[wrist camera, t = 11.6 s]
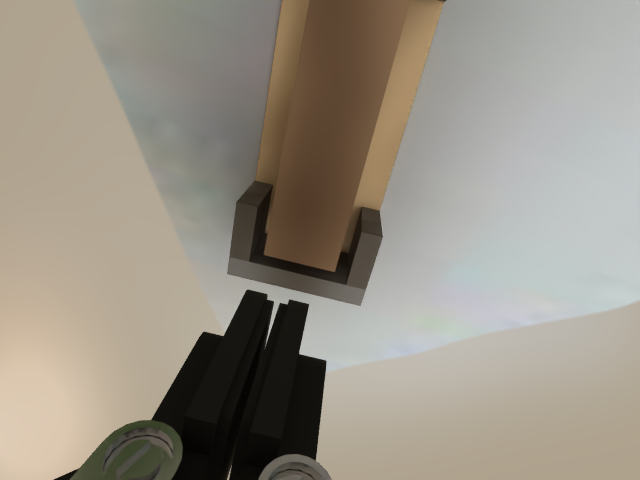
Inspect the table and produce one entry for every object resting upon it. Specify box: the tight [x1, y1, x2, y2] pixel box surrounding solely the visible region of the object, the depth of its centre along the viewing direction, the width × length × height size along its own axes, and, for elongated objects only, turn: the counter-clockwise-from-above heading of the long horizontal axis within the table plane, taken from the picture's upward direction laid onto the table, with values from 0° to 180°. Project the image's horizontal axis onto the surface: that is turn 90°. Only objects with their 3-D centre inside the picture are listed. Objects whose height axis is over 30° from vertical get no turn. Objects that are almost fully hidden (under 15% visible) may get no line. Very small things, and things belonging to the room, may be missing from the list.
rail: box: [227, 0, 446, 306], centre depth 18 cm, size 7×20×4 cm, turn 168°
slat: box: [264, 0, 411, 272], centre depth 17 cm, size 4×14×4 cm, turn 168°
